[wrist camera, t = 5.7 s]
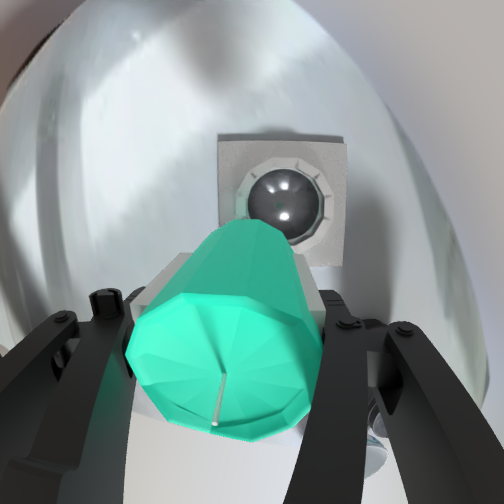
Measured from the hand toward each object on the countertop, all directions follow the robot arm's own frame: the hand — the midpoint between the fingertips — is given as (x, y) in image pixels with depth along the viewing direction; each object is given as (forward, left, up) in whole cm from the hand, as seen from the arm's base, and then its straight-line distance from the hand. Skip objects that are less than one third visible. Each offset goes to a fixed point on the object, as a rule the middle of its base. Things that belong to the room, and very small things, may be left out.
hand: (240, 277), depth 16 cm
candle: (0, 0, -2) cm, 2 cm away
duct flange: (+4, +2, -17) cm, 17 cm away
